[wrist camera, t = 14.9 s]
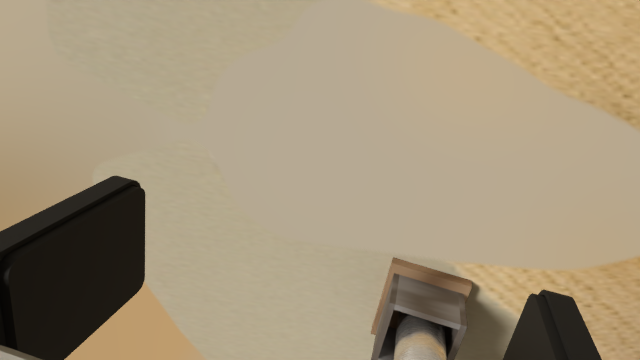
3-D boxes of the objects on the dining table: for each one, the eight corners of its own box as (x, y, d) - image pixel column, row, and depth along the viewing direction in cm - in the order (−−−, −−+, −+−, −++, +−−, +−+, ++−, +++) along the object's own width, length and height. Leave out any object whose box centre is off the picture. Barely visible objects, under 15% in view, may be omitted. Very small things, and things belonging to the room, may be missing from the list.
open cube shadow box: (471, 280, 39) (476, 319, 34) (443, 350, 42) (445, 394, 37) (393, 257, 40) (387, 291, 35) (372, 326, 43) (363, 367, 38)
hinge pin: (450, 301, 39) (457, 389, 30) (435, 336, 41) (438, 429, 32) (405, 287, 40) (399, 369, 31) (393, 322, 41) (383, 409, 32)
